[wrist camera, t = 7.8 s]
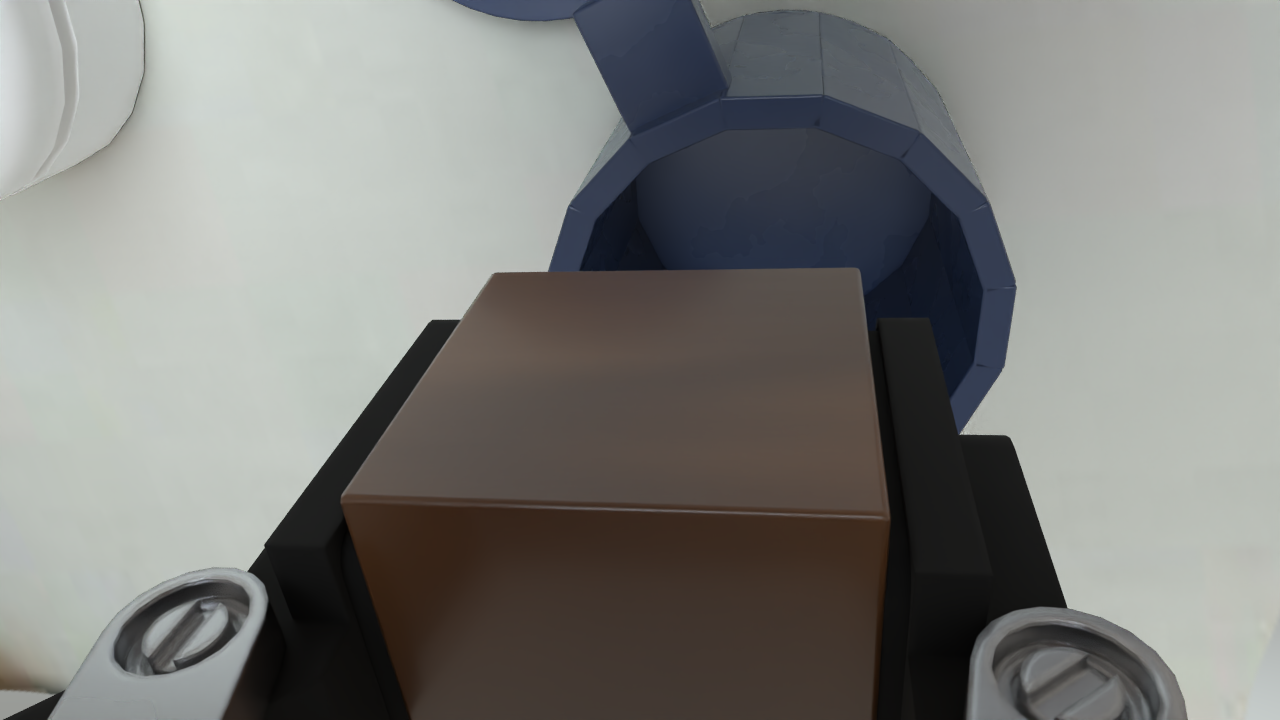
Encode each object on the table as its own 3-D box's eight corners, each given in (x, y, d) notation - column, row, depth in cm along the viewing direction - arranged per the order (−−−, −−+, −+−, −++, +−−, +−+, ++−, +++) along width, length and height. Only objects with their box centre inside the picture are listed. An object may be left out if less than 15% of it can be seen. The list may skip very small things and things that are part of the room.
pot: (853, -158, 24) (876, -142, 16) (1019, 334, 31) (1095, 521, 23) (518, 19, 28) (400, 103, 20) (728, 424, 34) (704, 612, 26)
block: (859, 264, 9) (891, 516, 6) (849, 556, 11) (868, 868, 8) (491, 270, 10) (334, 499, 7) (541, 543, 12) (440, 826, 9)
